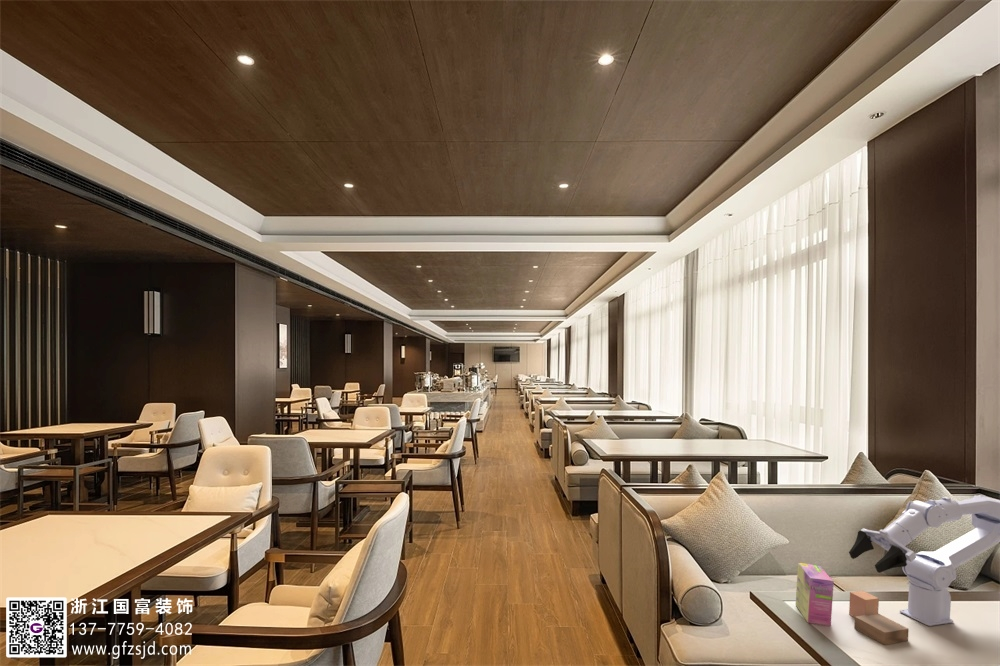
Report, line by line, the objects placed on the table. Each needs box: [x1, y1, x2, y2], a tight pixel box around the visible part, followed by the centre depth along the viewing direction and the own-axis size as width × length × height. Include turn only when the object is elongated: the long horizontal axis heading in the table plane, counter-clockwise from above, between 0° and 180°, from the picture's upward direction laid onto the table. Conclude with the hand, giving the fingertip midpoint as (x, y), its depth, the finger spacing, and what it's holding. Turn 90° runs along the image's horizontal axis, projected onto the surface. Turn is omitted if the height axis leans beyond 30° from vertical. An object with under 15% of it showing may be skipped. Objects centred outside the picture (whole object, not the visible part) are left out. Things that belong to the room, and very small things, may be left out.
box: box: [795, 562, 835, 627], centre depth 152 cm, size 10×6×12 cm, turn 168°
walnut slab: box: [853, 612, 910, 646], centre depth 143 cm, size 8×8×3 cm
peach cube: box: [848, 590, 880, 618], centre depth 152 cm, size 5×5×6 cm
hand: (863, 562), depth 149 cm, fingers open, 7 cm apart
